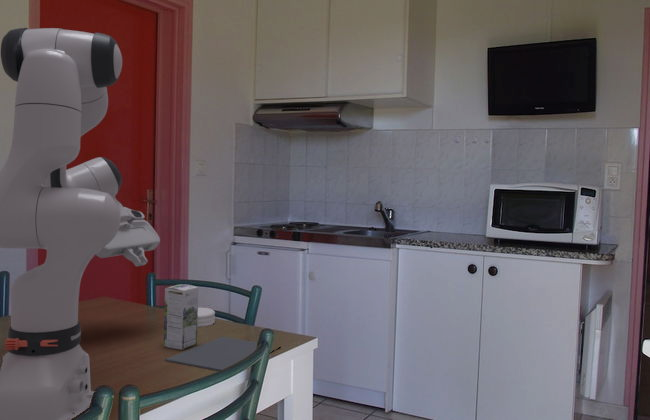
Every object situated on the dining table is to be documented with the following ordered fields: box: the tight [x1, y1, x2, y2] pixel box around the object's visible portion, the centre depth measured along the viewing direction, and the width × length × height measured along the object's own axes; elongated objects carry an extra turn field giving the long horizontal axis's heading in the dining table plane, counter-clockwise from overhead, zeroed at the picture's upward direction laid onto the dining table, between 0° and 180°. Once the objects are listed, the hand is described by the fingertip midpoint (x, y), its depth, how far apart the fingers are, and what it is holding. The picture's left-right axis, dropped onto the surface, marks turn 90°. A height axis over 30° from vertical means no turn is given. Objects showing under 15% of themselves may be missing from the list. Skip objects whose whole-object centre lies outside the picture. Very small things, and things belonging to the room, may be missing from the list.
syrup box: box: [163, 283, 199, 351], centre depth 154 cm, size 6×6×14 cm
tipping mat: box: [164, 336, 258, 372], centre depth 149 cm, size 17×22×1 cm
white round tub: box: [197, 307, 216, 328], centre depth 177 cm, size 10×10×4 cm
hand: (142, 264), depth 158 cm, fingers closed
